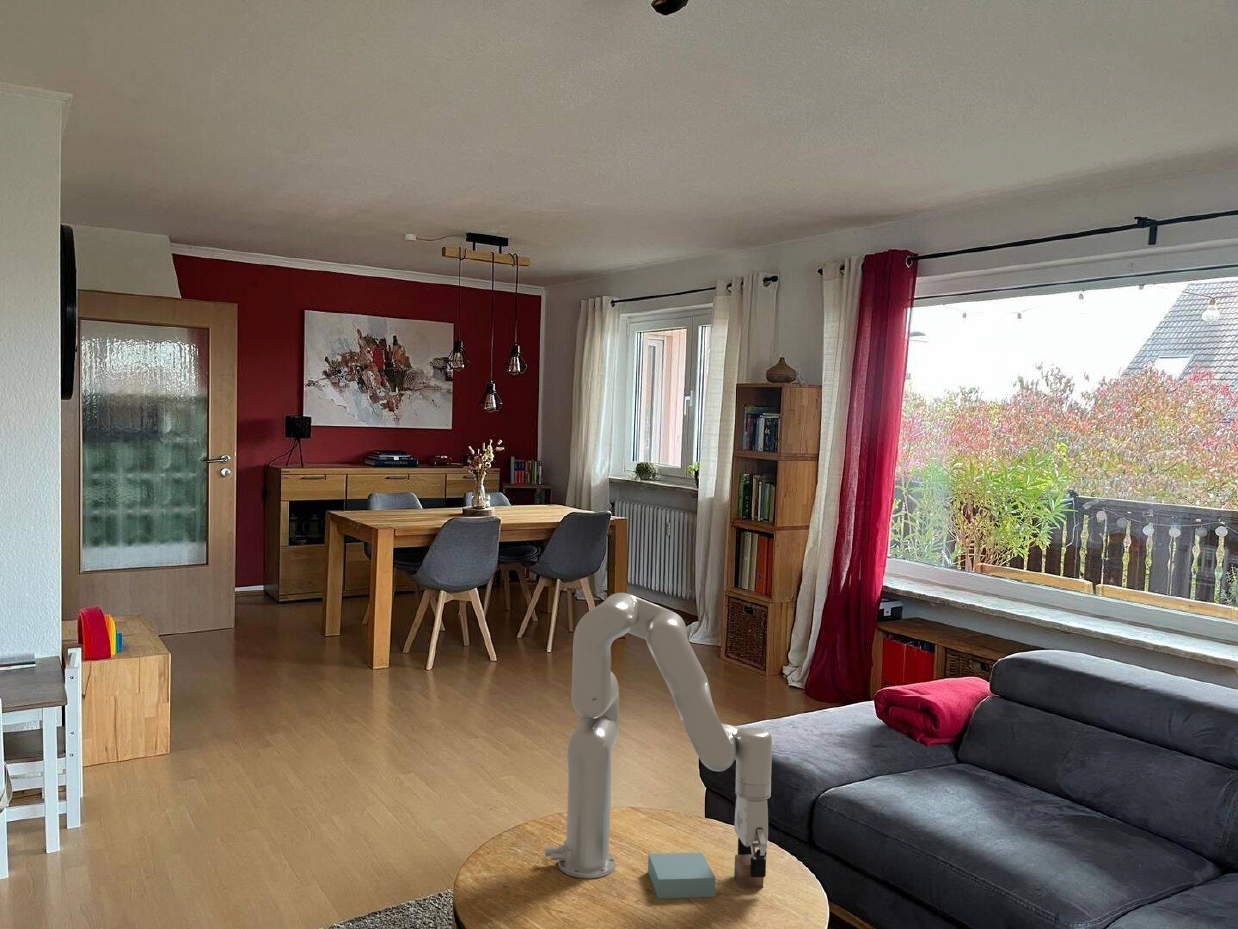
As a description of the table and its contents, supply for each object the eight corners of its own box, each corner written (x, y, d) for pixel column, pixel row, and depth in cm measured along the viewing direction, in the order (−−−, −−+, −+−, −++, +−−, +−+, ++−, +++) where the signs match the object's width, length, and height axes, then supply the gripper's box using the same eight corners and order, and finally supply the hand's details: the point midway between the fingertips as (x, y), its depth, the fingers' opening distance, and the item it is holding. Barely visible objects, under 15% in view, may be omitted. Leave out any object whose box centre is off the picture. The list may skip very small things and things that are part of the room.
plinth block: (657, 898, 193) (658, 879, 193) (647, 872, 205) (648, 854, 205) (714, 897, 195) (715, 878, 194) (701, 870, 206) (702, 852, 206)
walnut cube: (740, 888, 199) (741, 865, 199) (734, 877, 204) (735, 855, 204) (763, 888, 200) (764, 864, 200) (756, 877, 205) (757, 854, 205)
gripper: (725, 774, 209) (724, 850, 210) (747, 803, 192) (745, 886, 193) (758, 773, 210) (756, 848, 211) (782, 802, 193) (780, 884, 194)
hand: (751, 866), depth 202 cm, fingers open, 9 cm apart
